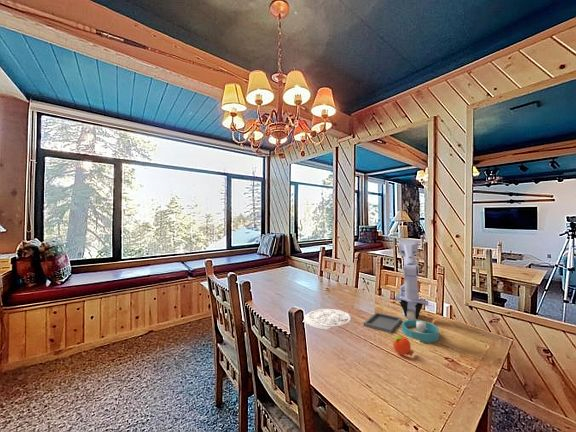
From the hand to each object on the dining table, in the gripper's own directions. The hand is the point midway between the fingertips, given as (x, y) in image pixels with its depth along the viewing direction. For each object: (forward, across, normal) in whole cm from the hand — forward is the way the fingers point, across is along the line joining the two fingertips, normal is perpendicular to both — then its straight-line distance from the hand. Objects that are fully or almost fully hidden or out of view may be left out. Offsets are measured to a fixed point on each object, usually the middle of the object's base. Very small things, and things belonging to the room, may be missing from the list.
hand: (411, 317), depth 126 cm
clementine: (+9, 0, -20) cm, 22 cm away
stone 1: (+1, 0, 0) cm, 1 cm away
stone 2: (+8, +3, +6) cm, 10 cm away
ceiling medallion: (+10, -43, -7) cm, 44 cm away
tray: (+9, -15, +3) cm, 18 cm away
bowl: (+9, +3, +3) cm, 10 cm away
